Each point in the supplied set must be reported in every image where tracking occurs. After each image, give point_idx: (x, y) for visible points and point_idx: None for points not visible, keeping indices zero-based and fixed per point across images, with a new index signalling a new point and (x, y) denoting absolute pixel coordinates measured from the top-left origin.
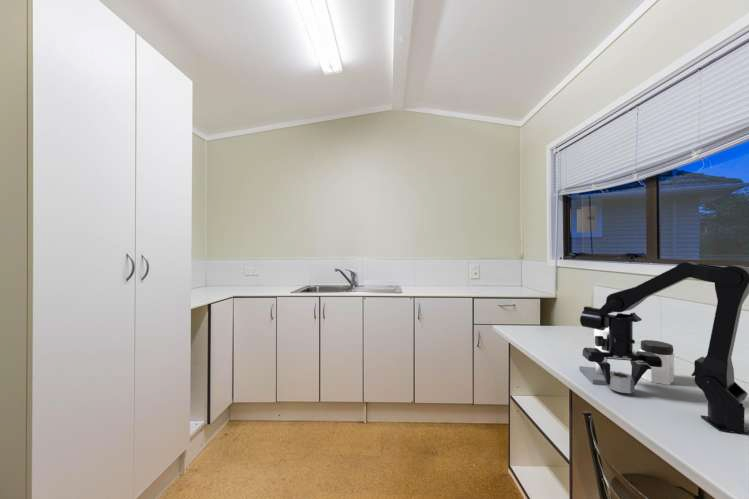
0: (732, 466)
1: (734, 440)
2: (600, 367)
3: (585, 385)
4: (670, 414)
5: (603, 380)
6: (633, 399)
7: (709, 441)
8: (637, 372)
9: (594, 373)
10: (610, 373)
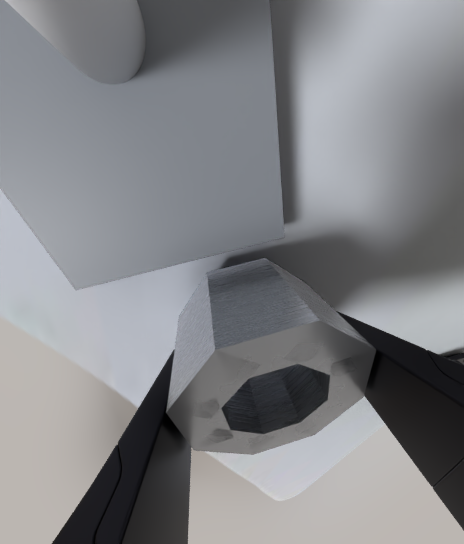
0: (320, 472)
1: None
2: (69, 527)
3: (60, 313)
4: None
5: (157, 268)
6: None
7: (336, 441)
8: (430, 474)
9: (34, 47)
10: (200, 413)
